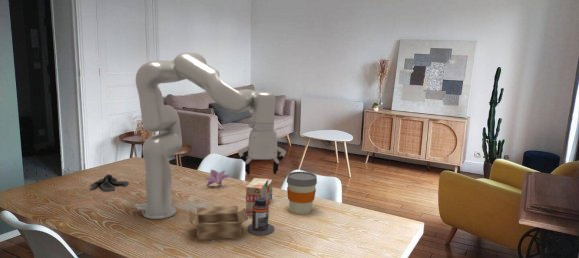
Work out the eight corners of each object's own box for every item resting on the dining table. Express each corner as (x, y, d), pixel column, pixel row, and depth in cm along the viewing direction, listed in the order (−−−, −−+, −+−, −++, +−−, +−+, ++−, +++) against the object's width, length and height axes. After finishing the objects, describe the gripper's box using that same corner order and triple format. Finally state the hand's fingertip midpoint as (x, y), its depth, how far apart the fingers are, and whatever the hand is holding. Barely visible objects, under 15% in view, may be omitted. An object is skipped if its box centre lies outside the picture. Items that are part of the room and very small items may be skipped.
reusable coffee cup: (319, 208, 176) (321, 174, 173) (308, 218, 164) (310, 182, 162) (293, 202, 181) (294, 169, 178) (280, 212, 170) (281, 177, 167)
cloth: (108, 178, 208) (107, 166, 207) (138, 183, 201) (137, 171, 200) (71, 191, 187) (70, 178, 186) (103, 197, 181) (102, 184, 180)
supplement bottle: (252, 224, 155) (252, 196, 153) (267, 224, 155) (268, 196, 153) (251, 231, 149) (252, 201, 147) (268, 231, 149) (269, 201, 147)
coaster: (249, 236, 146) (249, 234, 146) (245, 224, 156) (245, 223, 156) (276, 234, 148) (276, 232, 148) (271, 223, 158) (271, 221, 158)
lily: (234, 188, 201) (229, 169, 203) (228, 185, 190) (223, 166, 192) (210, 194, 201) (206, 176, 204) (203, 193, 190) (199, 173, 192)
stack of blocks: (258, 198, 186) (259, 171, 183) (272, 199, 185) (273, 172, 182) (245, 215, 165) (246, 186, 163) (260, 217, 164) (261, 187, 162)
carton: (189, 243, 139) (189, 224, 138) (189, 225, 154) (189, 207, 152) (249, 239, 143) (249, 221, 142) (244, 222, 158) (244, 205, 157)
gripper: (239, 128, 140) (238, 177, 143) (289, 129, 144) (287, 176, 147) (237, 124, 147) (236, 170, 150) (284, 125, 151) (282, 170, 154)
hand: (261, 173), depth 148 cm, fingers open, 9 cm apart
